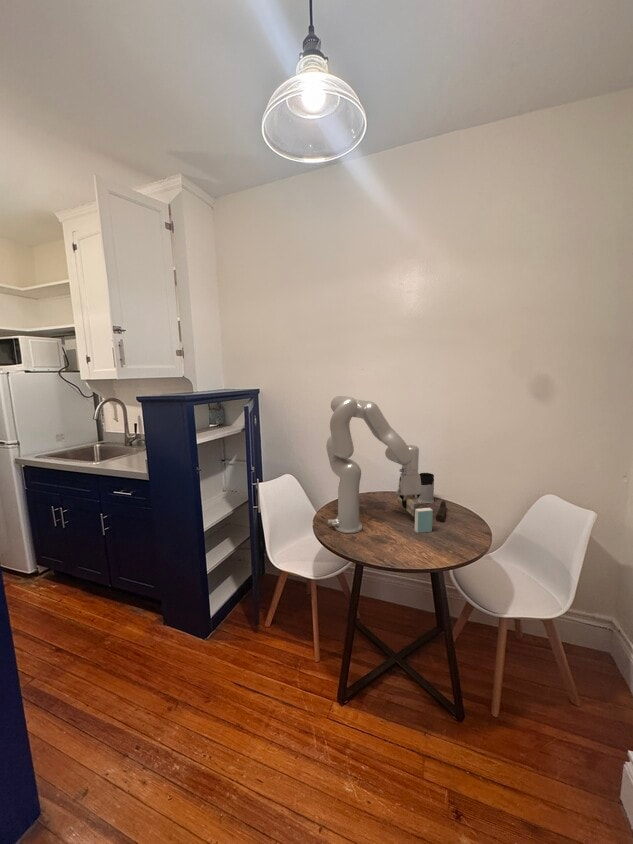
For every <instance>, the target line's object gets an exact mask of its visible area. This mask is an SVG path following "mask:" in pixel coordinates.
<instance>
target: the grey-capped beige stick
mask: <svg viewBox="0 0 633 844" xmlns="http://www.w3.org/2000/svg"><path fill="white" fill-rule="evenodd" d="M400 494H401V493H400ZM401 495H402V494H401ZM406 501H407V505H406V509H405V510H406V511H407V512H408V513H409V514H410V515H411V516H412V517H414V518H415V509H421V508H423V503H421V502H420V501H418V498H417V499H416V498H414V497H413V496H412V495H407V496H406ZM397 504H399V505H400V506H401V507H403V506H402V499H401V498H400V497H399V496H397Z"/></svg>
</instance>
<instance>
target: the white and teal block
mask: <svg viewBox="0 0 633 844" xmlns="http://www.w3.org/2000/svg"><path fill="white" fill-rule="evenodd" d="M433 513H434V511H433V509H432V508H431V507H422V508H421V509H415V516H414V532H416V533H417V534H419V533H429V532H430V533H431V532H432V531H433Z"/></svg>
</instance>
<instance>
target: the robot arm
mask: <svg viewBox="0 0 633 844" xmlns="http://www.w3.org/2000/svg"><path fill="white" fill-rule="evenodd" d="M330 408H331V411H332V412H333V413H332V415H331V418H330V421H329V431H330V436H329V437H328V438H327V440H326V446H325V447H326V453H327V457H328V460H329V466H330V468H331V471H332V472H333V474H335V475H336V476H337V477H339V481H338V487H337V495H338V496H337V516H336V518H334V519H327V524H328V525H331V526H333V527H334V529H335V530H336V531H338V532H340V533H343V534H356V533H359V532H361V531H362V529H363V524H362V523H361V522H360V486H361V485H360V484H361V478H362V469H361V467H360V465H359V464H358V463H357V462H356V461H354V460H352V459H351V457H352V456H353V454H354V442H353V438H352V433H351V428H350V425H351V424H350V423H351V420H352V418H358V419H362V420H363V421H364V423H365V424H366V426H367V427H368V428H369V430H370V431H371V434H372V435H373V436H374V437H375V438H376V439H377V440H378V441H379V442H381V443H383V444H384V445H385V446H386V447H387V448H386V449H385V451H384V455H385V458H387V459H388V460H389V461H391V462H393V463H395V464H398V465H400V466H401V468H400V469H399V472H400V475H399V478H398V489H397V490H396V492H395V495H396V496H397V497H398V496H399V497H400V498H401V499H402V506H401V507H402V508H403V509H405V510H406V505H407V501H406V496H407V495H412V496H413V497H414V498H416V499H417V500H418V497H419V496H420V495H421V494H423V491H422V490H421V478H420V473H419V458H420V457H419V455H420V449H419V446H417V445H413V444H407V443H406V441H405V440H404V439H403V438H402V436H400V435H399V434H398V432H396V430H395V429H394V428H392V427H391V425H390V424H389V422H388V420H387V419H386V417H385V416H384V414H383V413H382V411H381V409H380V408H379V406H378V405H377V403H375V402H373V401H370V400H362V399H356V398H354V397H351V396H343V395H337V396H335V397H334V398H332V400H331V403H330ZM400 493H401V494H402V495H401V494H400Z"/></svg>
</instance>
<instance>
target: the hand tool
mask: <svg viewBox="0 0 633 844" xmlns="http://www.w3.org/2000/svg"><path fill="white" fill-rule="evenodd" d="M446 506H447V504H446V501H444V500H443V501H441V502H440V505H439V508H438V511H437V514H436V515H435V521H436V522H439V523H444V522H445V519H446V517H445V516H446V508H447V507H446Z"/></svg>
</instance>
